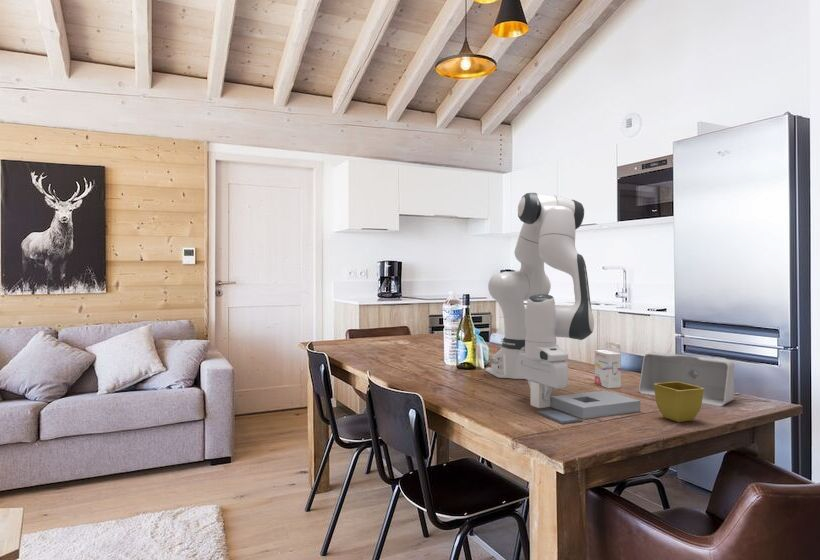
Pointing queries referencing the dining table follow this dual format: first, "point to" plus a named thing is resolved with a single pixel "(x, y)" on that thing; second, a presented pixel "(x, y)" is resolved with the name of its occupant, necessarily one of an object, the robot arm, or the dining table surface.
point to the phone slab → (558, 416)
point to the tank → (690, 375)
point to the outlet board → (594, 404)
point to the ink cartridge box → (608, 366)
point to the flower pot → (678, 400)
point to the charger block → (538, 395)
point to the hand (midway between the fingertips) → (540, 397)
